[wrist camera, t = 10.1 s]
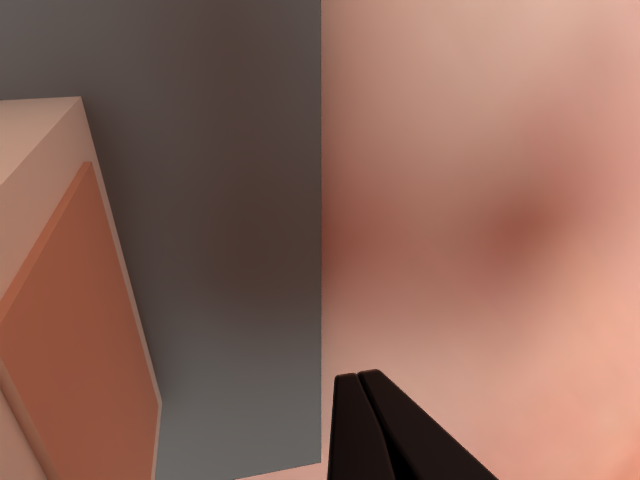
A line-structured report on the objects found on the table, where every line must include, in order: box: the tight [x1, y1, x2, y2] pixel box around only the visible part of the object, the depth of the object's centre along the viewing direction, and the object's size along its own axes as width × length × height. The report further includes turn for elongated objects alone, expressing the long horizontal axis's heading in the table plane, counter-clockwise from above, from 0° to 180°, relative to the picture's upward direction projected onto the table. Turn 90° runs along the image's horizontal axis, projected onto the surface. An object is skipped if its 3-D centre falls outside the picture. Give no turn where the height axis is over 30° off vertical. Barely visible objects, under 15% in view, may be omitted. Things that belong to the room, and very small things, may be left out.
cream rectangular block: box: [0, 96, 162, 480], centre depth 8 cm, size 9×2×7 cm, turn 0°
